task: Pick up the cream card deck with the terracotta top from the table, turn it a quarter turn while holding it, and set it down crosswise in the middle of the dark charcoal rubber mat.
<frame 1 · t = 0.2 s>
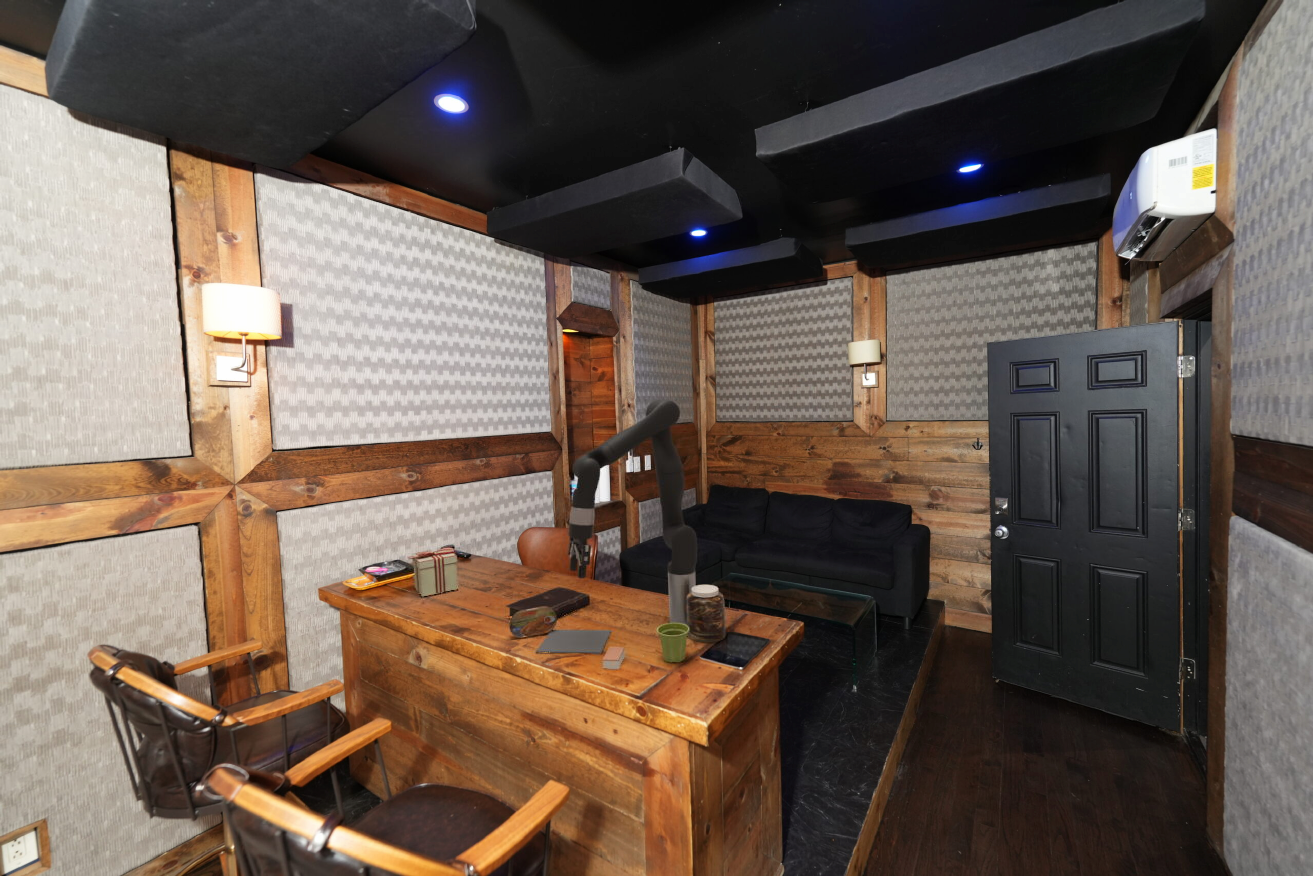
hand: (577, 574, 164), 22 cm above the table, tool pointing down, fingers open, 8 cm apart
gift box: (434, 590, 224), on the table
mat: (575, 642, 166), on the table
diary: (548, 613, 194), on the table
jar: (706, 636, 167), on the table
tin: (534, 634, 173), on the table, touching mat
plant pot: (674, 659, 153), on the table
deck: (614, 663, 152), on the table
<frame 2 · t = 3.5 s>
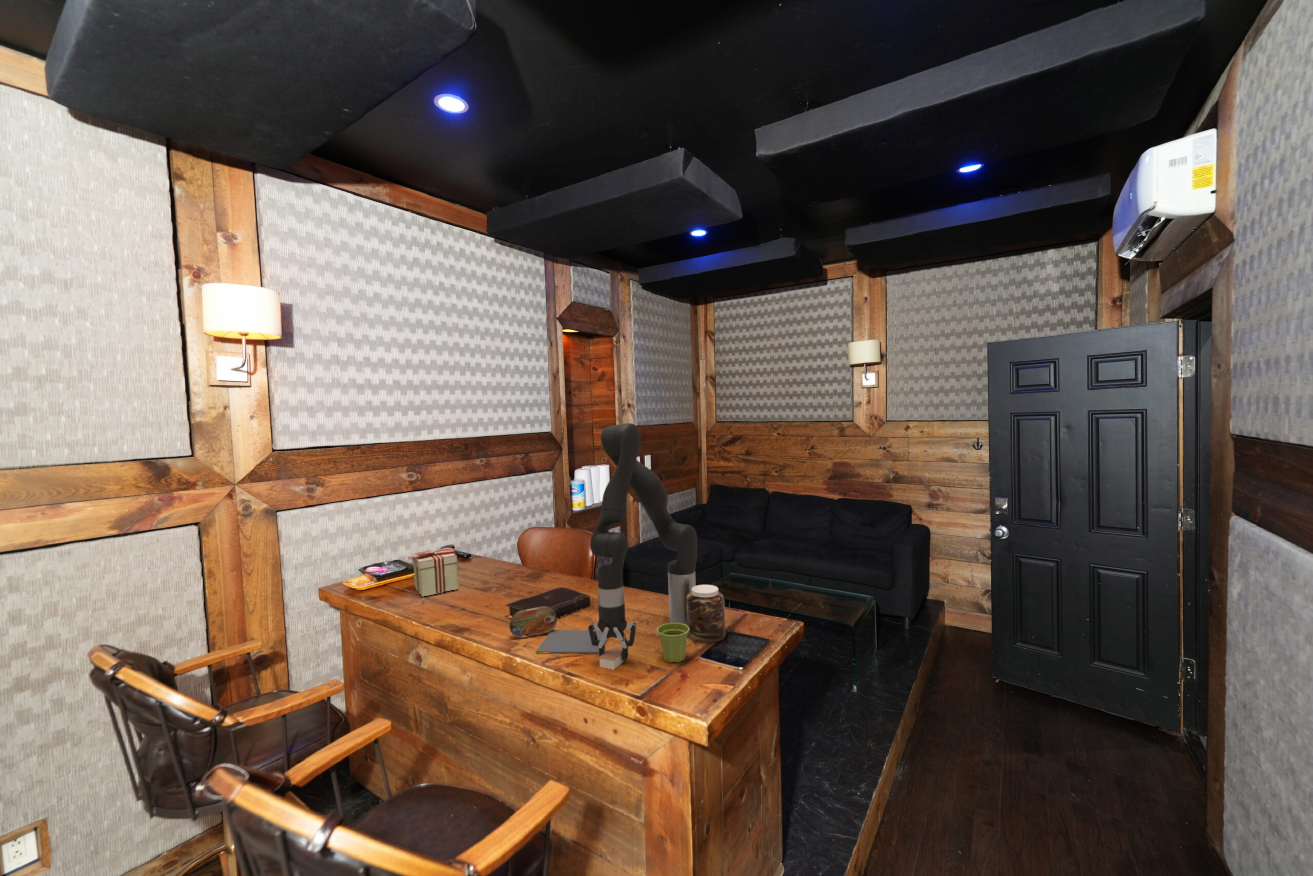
hand: (613, 659, 151), 1 cm above the table, tool pointing down, fingers closed on deck, 5 cm apart
deck: (614, 662, 152), on the table, touching gripper
everything else where it was.
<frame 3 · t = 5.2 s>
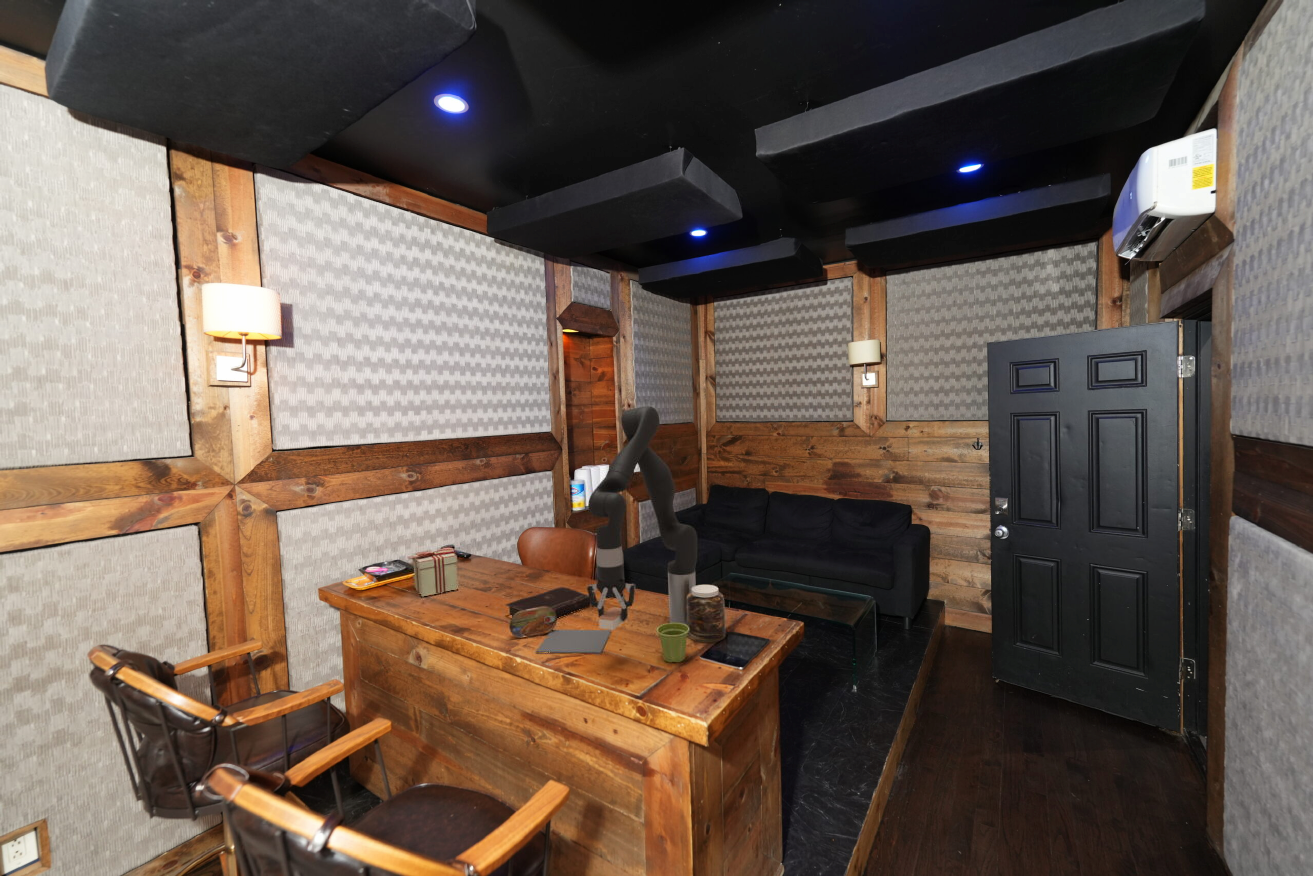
hand: (613, 620, 151), 12 cm above the table, tool pointing down, fingers closed on deck, 5 cm apart
deck: (613, 623, 151), point 11 cm above the table, touching gripper
everything else where it was.
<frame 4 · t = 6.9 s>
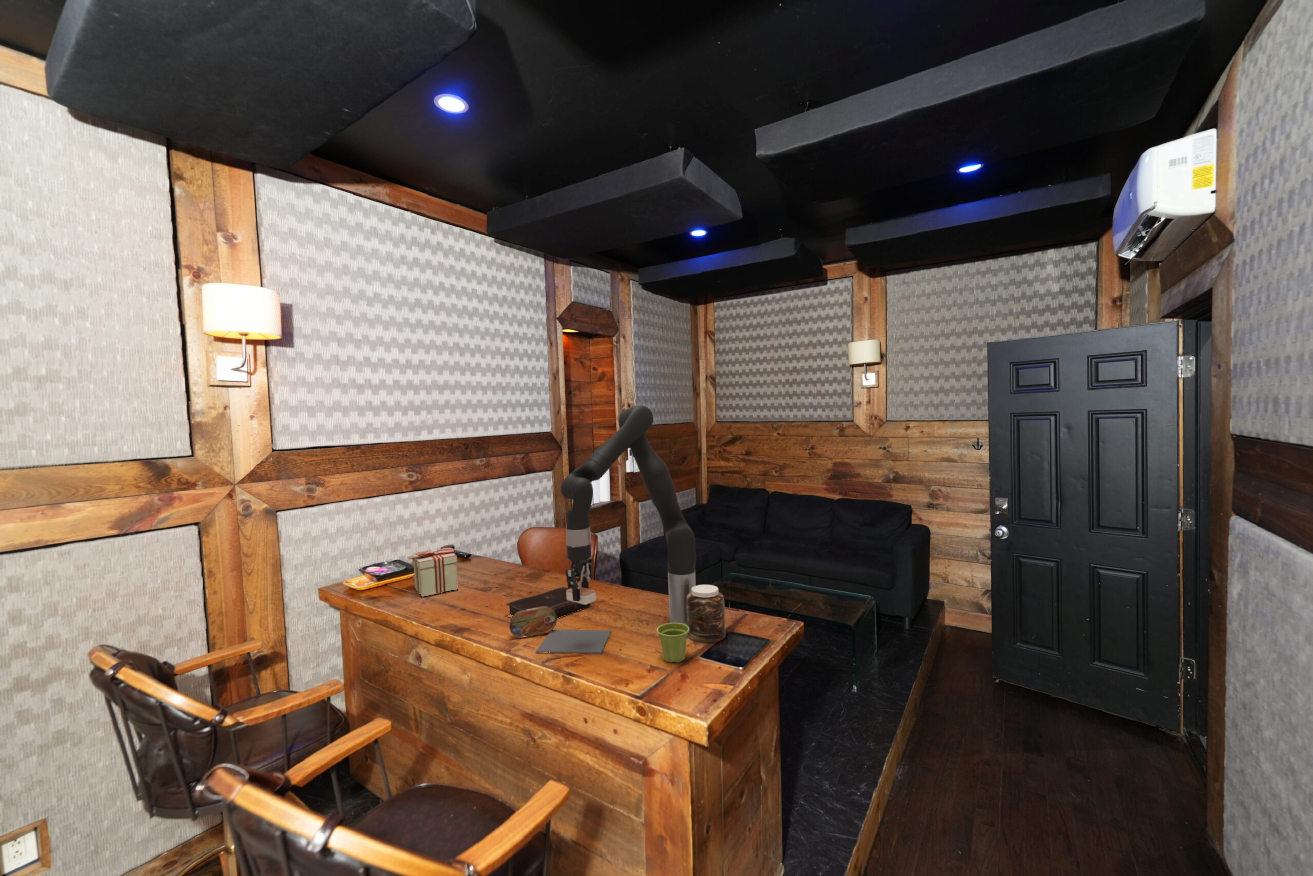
hand: (581, 597, 161), 16 cm above the table, tool pointing down, fingers closed on deck, 5 cm apart
deck: (581, 600, 162), point 15 cm above the table, touching gripper
everything else where it was.
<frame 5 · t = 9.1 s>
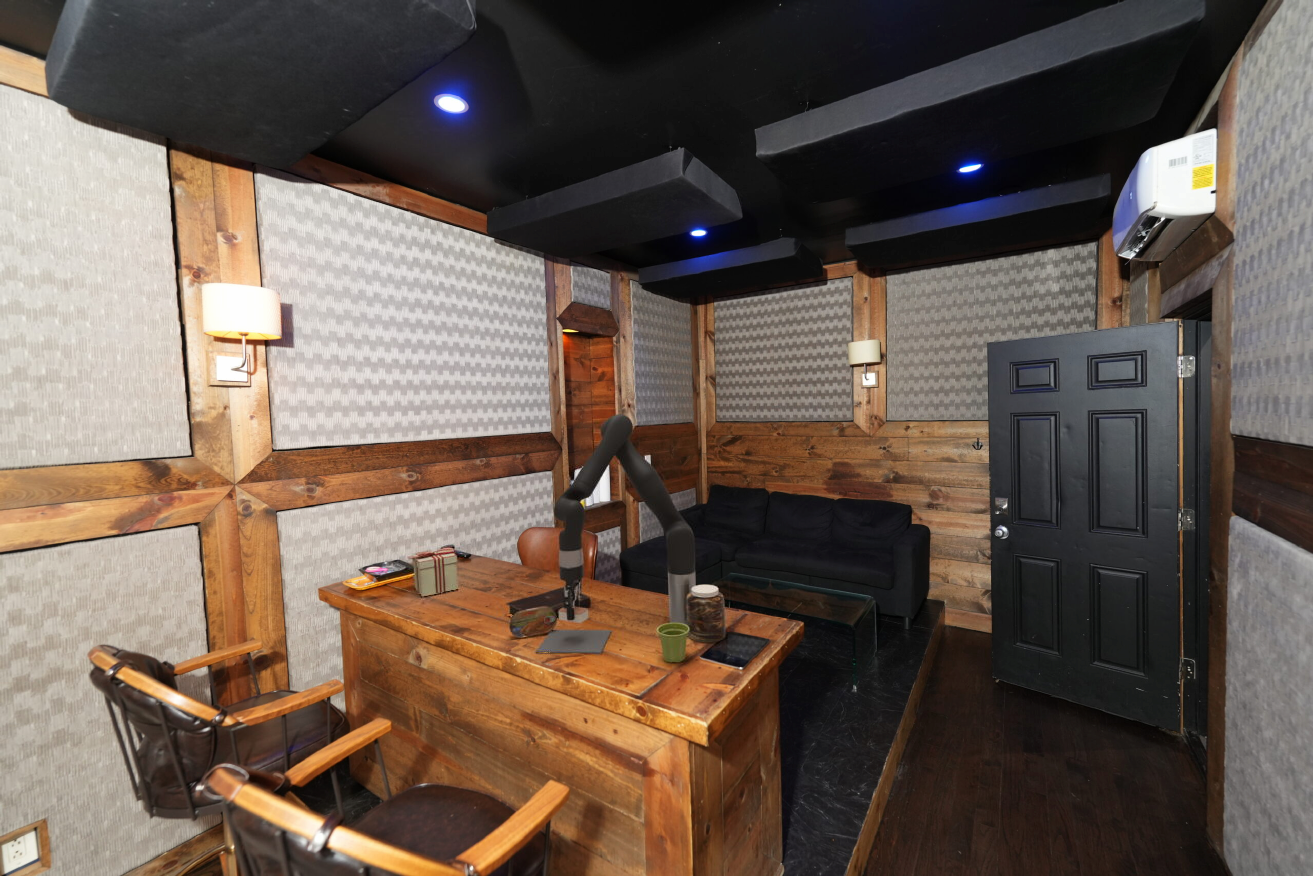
hand: (573, 616, 166), 8 cm above the table, tool pointing down, fingers closed on deck, 5 cm apart
deck: (573, 618, 166), point 7 cm above the table, touching gripper
when the fingers open (2 cm above the table, at t = 10.7 s): deck stays where it is, resting on mat.
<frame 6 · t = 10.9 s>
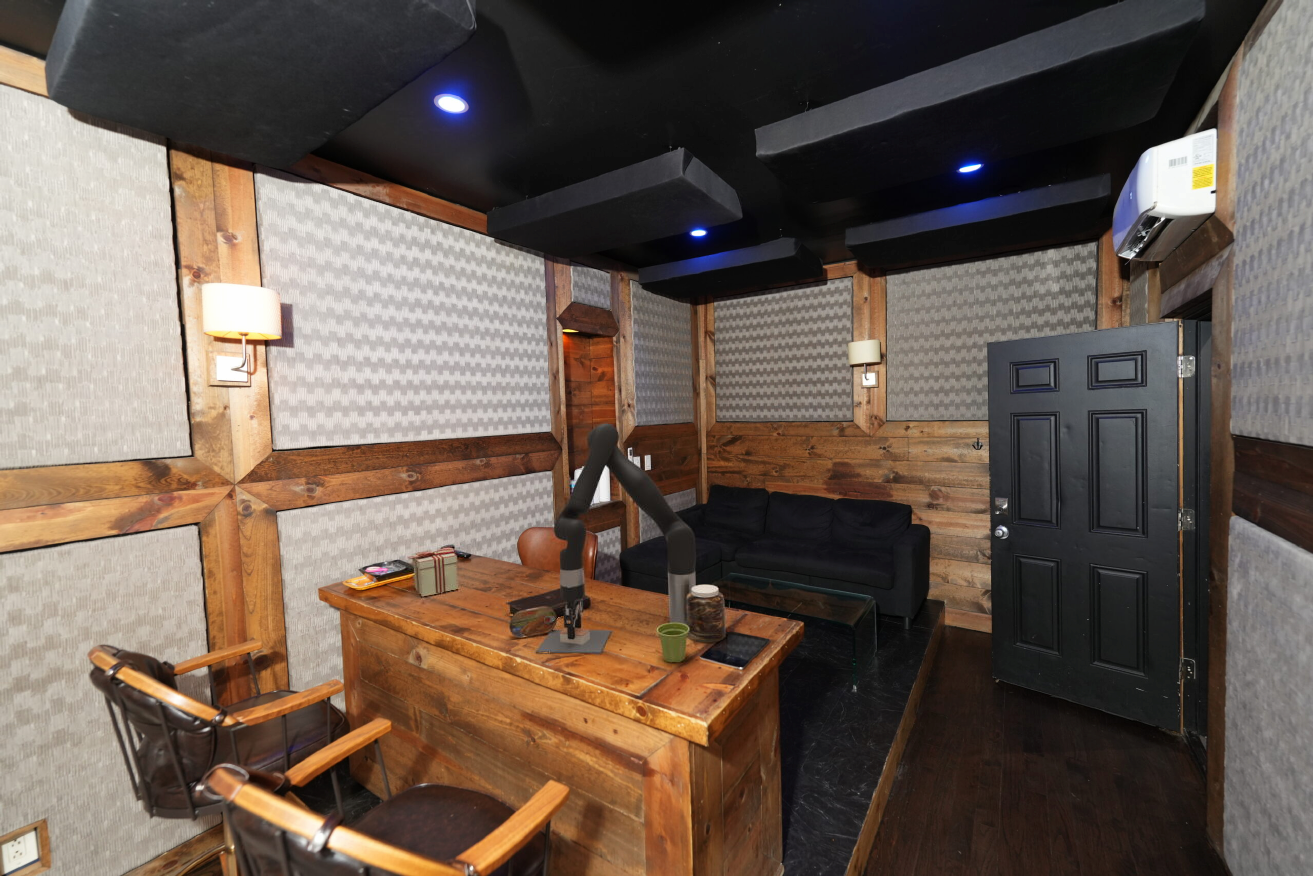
hand: (574, 633, 166), 3 cm above the table, tool pointing down, fingers open, 7 cm apart
deck: (575, 640, 166), point 1 cm above the table, touching mat
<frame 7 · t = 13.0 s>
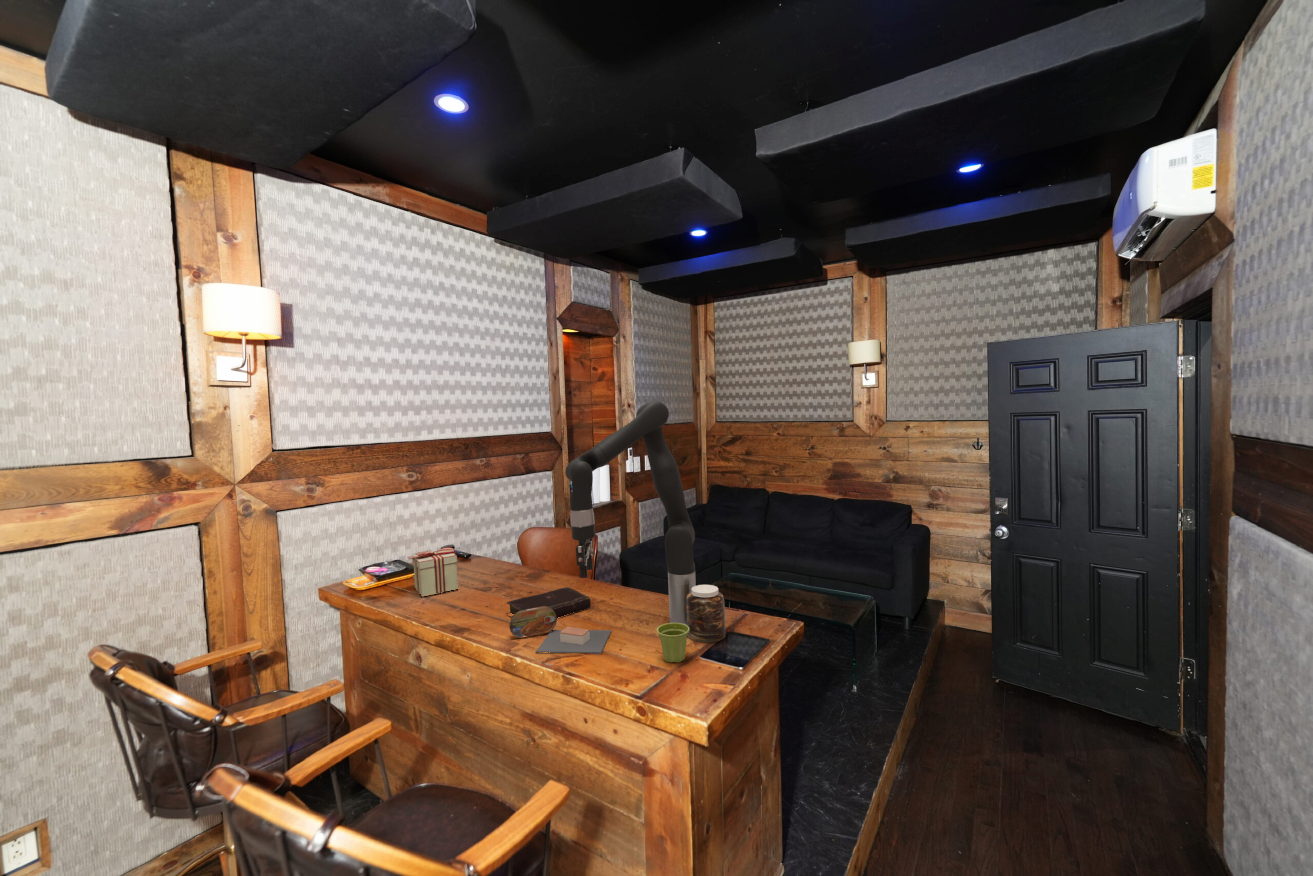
hand: (586, 573, 169), 21 cm above the table, tool pointing down, fingers open, 8 cm apart
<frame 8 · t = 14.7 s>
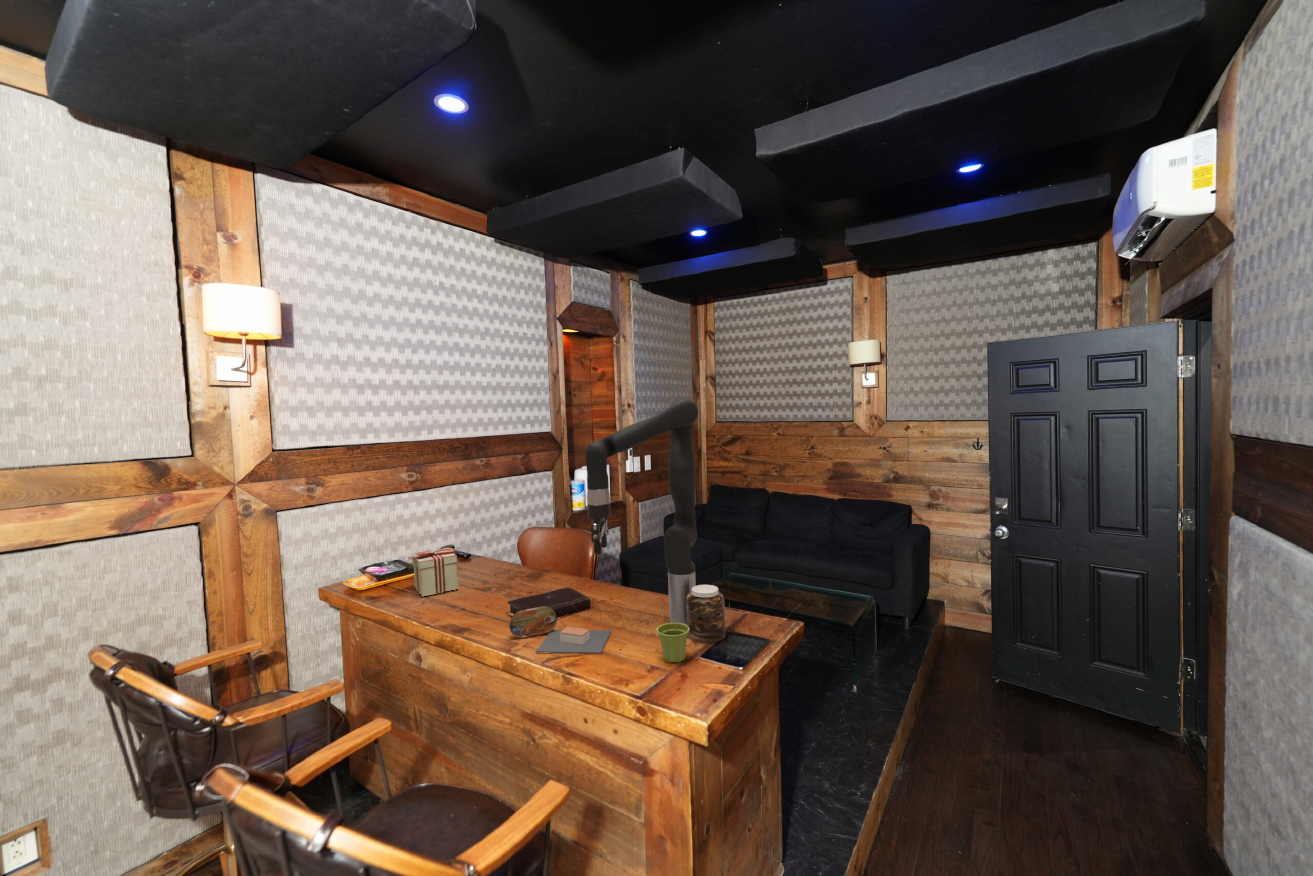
hand: (600, 550, 175), 26 cm above the table, tool pointing down, fingers open, 8 cm apart
at the end: deck inside the target area on the mat (0.0 cm from its centre), point 0.6 cm above the mat's base; deck tilted 0°; the gripper is holding nothing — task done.
